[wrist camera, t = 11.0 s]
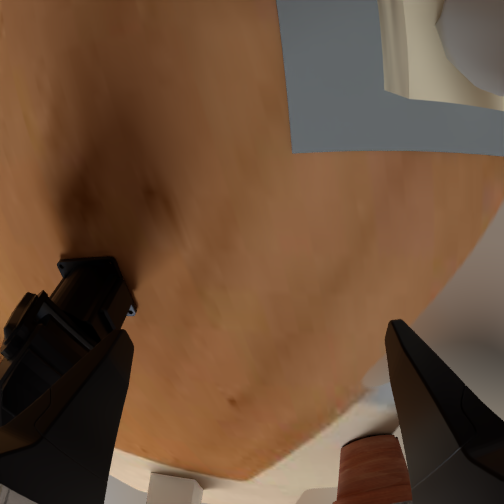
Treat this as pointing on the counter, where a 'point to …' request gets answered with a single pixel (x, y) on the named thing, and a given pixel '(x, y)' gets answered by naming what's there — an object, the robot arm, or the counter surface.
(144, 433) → the counter surface
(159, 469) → the counter surface
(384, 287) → the counter surface
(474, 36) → the salt shaker
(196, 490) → the milk
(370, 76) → the mat
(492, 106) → the beech block
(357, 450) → the potted plant
